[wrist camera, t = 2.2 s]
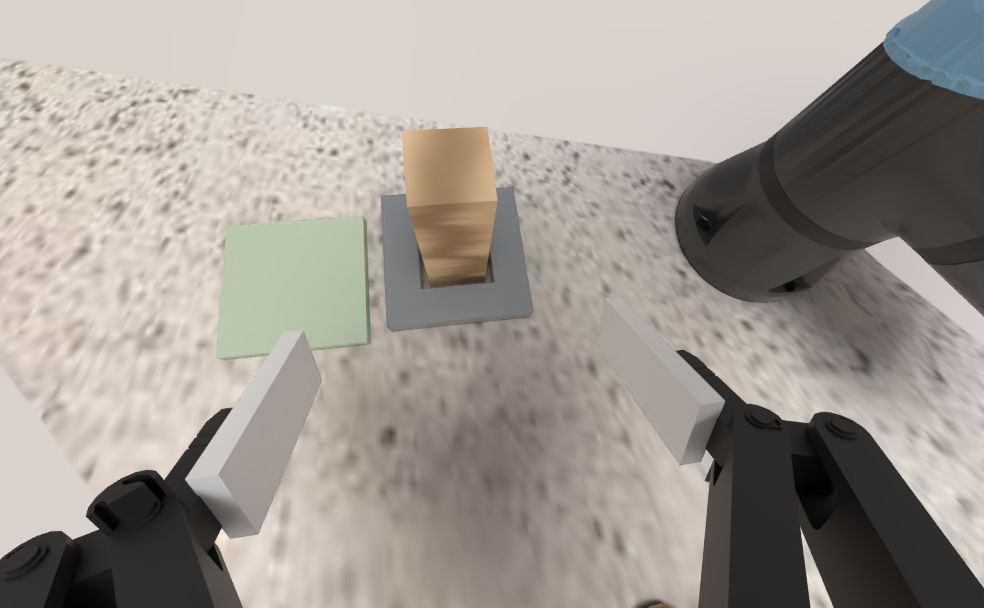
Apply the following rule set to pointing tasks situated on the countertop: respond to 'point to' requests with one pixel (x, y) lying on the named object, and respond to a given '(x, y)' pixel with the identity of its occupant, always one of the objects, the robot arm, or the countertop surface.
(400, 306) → the pocket frame
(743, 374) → the countertop surface
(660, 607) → the pastry
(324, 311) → the rubber pad
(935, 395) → the countertop surface
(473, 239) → the oak peg
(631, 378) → the robot arm
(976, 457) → the countertop surface
